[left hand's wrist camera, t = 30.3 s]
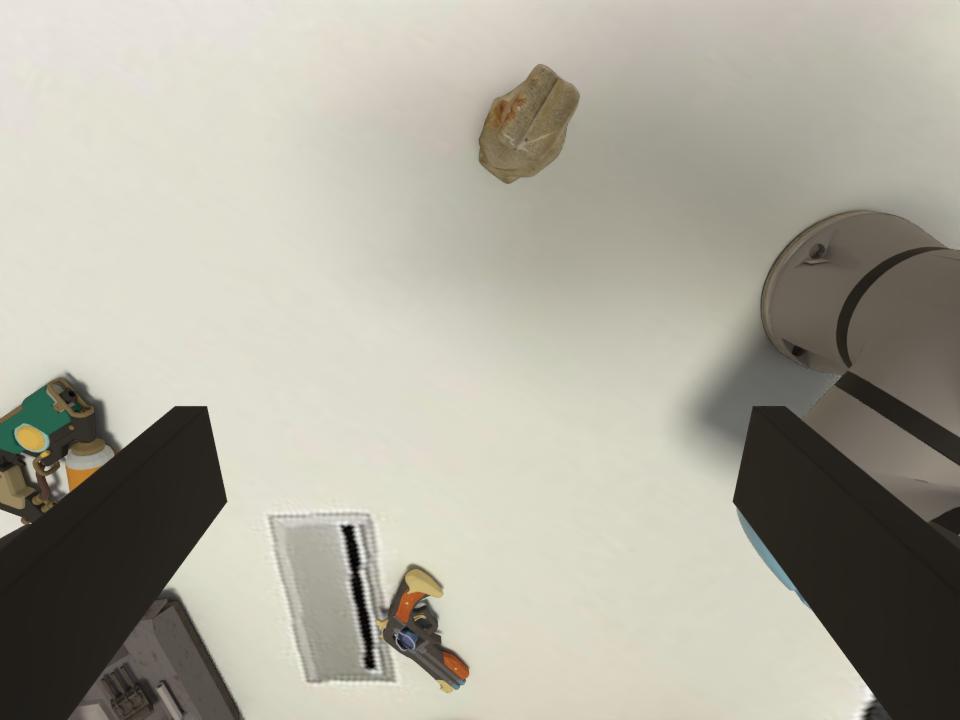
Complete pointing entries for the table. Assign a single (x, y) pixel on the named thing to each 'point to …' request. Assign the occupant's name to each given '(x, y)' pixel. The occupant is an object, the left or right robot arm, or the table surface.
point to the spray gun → (47, 447)
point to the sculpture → (527, 126)
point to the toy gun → (421, 632)
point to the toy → (159, 675)
